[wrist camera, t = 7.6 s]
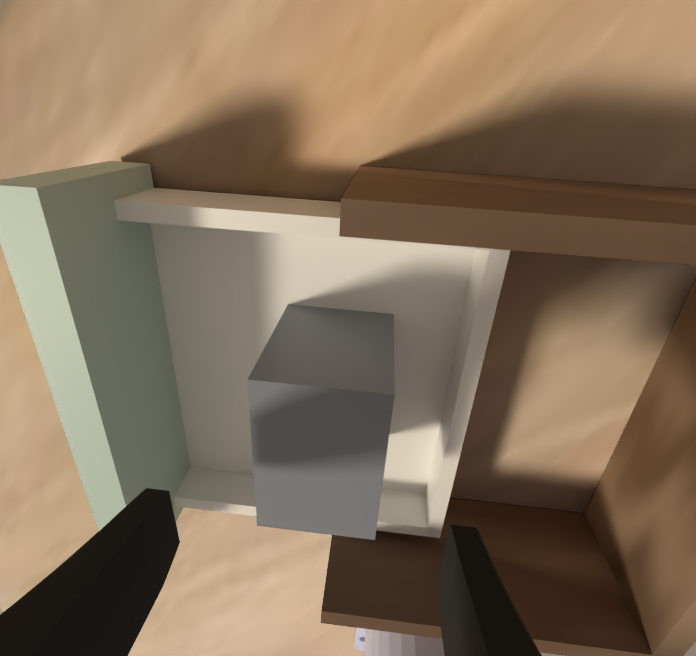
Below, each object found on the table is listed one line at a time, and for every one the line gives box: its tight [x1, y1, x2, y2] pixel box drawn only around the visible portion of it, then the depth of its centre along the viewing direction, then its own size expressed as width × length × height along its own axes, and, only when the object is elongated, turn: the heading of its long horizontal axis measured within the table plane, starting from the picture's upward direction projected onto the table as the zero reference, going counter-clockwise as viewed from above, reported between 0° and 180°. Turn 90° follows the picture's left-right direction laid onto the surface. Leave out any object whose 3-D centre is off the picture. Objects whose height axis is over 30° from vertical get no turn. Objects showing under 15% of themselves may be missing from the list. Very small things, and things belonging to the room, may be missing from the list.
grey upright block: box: [247, 304, 395, 540], centre depth 15 cm, size 4×6×5 cm
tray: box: [0, 161, 511, 538], centre depth 15 cm, size 15×14×5 cm
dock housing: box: [321, 166, 696, 656], centre depth 15 cm, size 16×13×6 cm
